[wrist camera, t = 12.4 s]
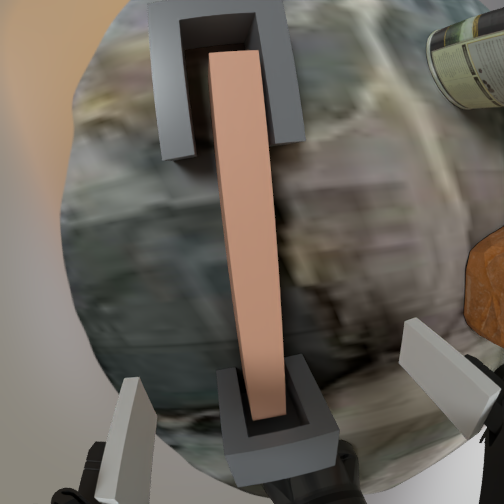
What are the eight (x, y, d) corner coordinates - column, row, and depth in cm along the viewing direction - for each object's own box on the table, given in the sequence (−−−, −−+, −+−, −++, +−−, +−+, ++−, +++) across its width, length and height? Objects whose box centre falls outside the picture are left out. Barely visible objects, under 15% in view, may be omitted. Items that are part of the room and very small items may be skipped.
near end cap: (282, 145, 24) (305, 140, 18) (173, 160, 23) (162, 160, 17) (264, 23, 20) (280, -10, 15) (159, 35, 19) (147, 3, 14)
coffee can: (420, 16, 21) (508, -21, 8) (478, 49, 23) (559, 35, 9) (426, 95, 24) (535, 81, 11) (483, 120, 26) (575, 124, 12)
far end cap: (303, 392, 32) (335, 465, 22) (226, 408, 31) (237, 487, 21) (301, 353, 30) (339, 429, 20) (216, 370, 29) (224, 455, 19)
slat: (271, 368, 30) (286, 414, 24) (242, 373, 30) (252, 420, 23) (244, 78, 22) (258, 50, 15) (207, 81, 22) (208, 53, 15)
